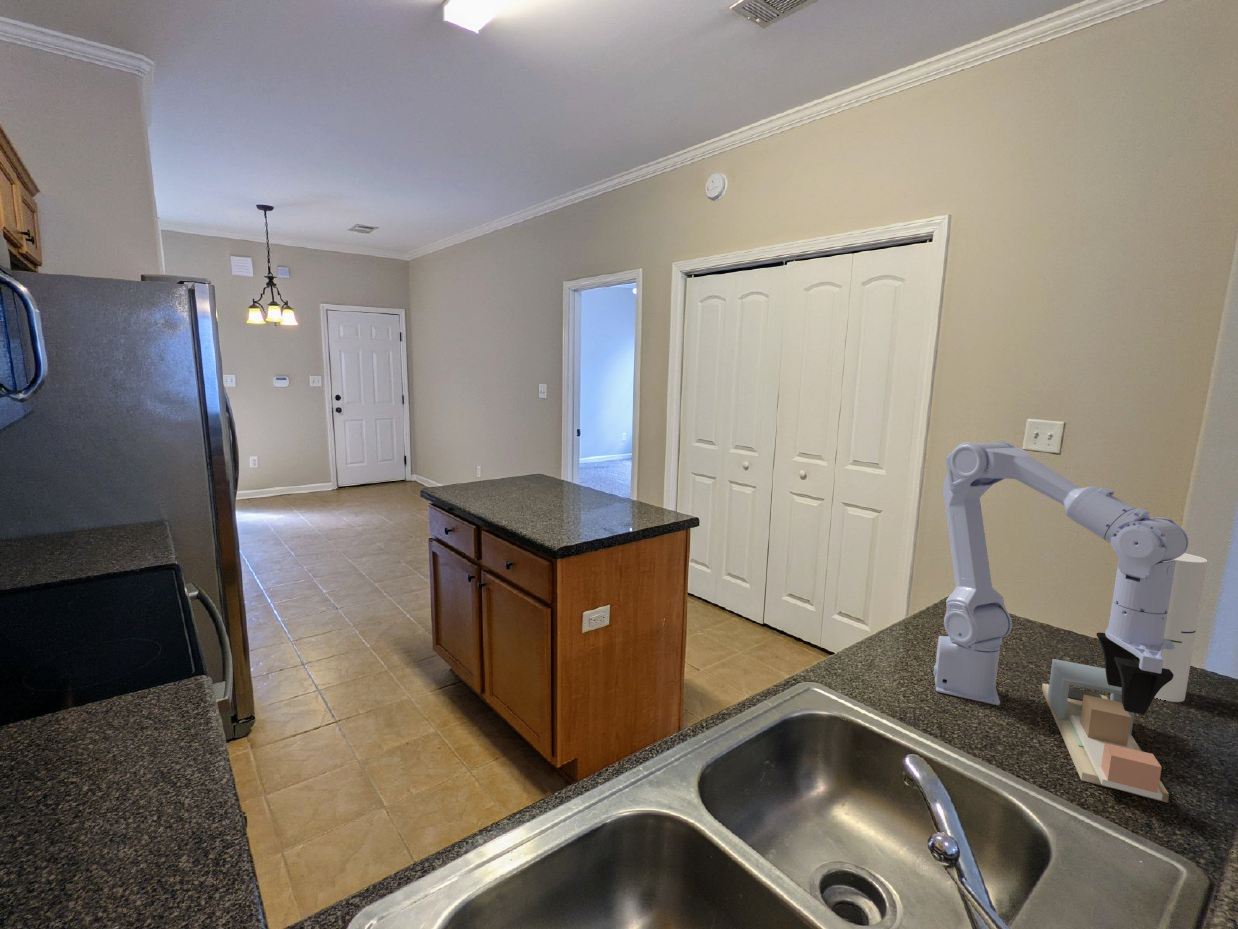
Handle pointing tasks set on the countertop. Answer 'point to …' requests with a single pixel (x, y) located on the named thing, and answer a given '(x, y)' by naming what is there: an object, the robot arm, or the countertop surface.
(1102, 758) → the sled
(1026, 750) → the countertop surface
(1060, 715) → the tunnel
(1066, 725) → the board
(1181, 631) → the cylindrical container
